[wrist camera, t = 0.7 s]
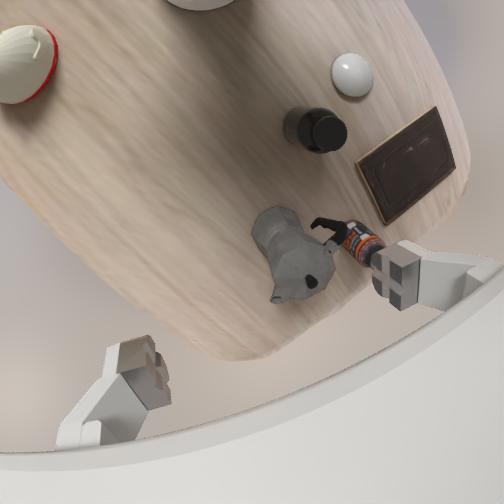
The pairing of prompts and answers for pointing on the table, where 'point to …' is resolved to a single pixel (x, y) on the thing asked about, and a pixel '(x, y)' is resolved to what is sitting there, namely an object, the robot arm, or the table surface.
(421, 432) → the robot arm
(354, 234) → the supplement bottle
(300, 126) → the supplement bottle
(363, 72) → the white glossy disc
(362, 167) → the hardcover book
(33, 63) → the kitchen timer
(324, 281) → the coffeepot
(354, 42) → the table surface
